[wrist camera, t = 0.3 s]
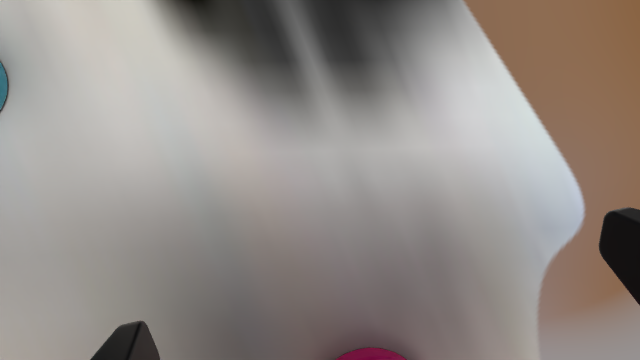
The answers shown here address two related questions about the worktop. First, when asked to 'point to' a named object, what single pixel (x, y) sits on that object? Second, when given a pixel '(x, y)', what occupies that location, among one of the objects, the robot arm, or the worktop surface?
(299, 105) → the worktop surface
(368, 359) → the pepper mill
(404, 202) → the worktop surface
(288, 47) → the worktop surface
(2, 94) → the tube
